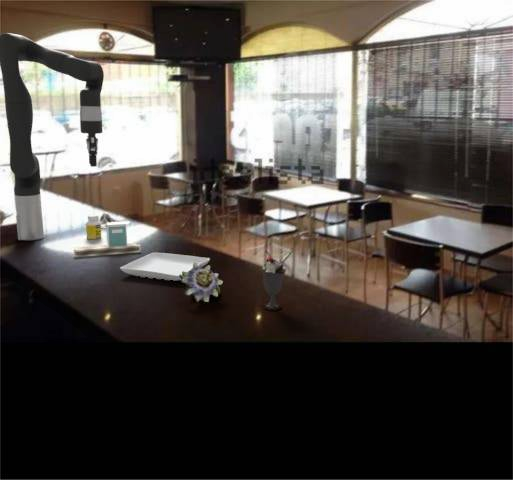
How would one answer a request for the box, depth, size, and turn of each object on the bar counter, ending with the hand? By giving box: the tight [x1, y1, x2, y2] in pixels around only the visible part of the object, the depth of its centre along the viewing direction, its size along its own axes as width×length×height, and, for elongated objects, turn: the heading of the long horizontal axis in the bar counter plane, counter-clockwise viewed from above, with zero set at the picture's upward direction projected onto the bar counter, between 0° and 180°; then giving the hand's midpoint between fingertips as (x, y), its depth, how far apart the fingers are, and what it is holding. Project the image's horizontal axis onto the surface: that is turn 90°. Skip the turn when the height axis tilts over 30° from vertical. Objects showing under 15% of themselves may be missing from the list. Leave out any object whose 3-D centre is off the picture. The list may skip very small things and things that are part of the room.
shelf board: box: [73, 242, 142, 258], centre depth 201 cm, size 22×14×3 cm, turn 109°
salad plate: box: [119, 252, 211, 282], centre depth 178 cm, size 21×21×3 cm
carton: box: [106, 222, 128, 247], centre depth 202 cm, size 6×4×9 cm
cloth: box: [83, 211, 131, 230], centre depth 249 cm, size 22×19×6 cm
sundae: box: [259, 250, 287, 308], centre depth 145 cm, size 7×7×15 cm
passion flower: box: [179, 262, 224, 303], centre depth 153 cm, size 11×11×12 cm
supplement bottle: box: [85, 214, 102, 241], centre depth 217 cm, size 5×5×10 cm
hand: (93, 165), depth 206 cm, fingers open, 8 cm apart
